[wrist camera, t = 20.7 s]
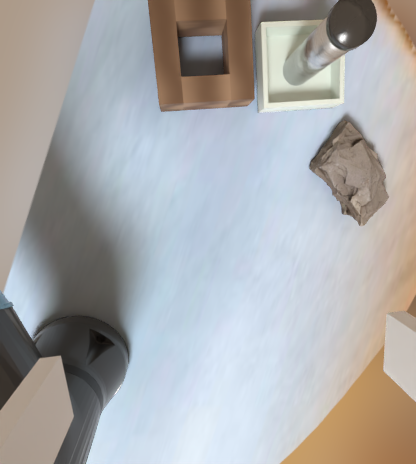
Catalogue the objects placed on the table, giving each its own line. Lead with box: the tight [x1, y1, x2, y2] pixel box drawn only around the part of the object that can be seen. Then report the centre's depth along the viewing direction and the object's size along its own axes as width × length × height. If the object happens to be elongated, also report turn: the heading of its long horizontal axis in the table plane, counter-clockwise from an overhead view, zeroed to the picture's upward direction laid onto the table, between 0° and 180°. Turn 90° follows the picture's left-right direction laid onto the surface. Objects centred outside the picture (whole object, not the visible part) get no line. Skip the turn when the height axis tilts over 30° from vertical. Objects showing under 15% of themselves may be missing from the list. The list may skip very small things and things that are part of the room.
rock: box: [310, 120, 389, 226], centre depth 41 cm, size 14×9×4 cm
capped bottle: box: [283, 0, 377, 86], centre depth 32 cm, size 4×4×13 cm
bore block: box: [148, 0, 255, 112], centre depth 36 cm, size 12×12×4 cm
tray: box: [255, 20, 345, 113], centre depth 38 cm, size 11×10×3 cm
